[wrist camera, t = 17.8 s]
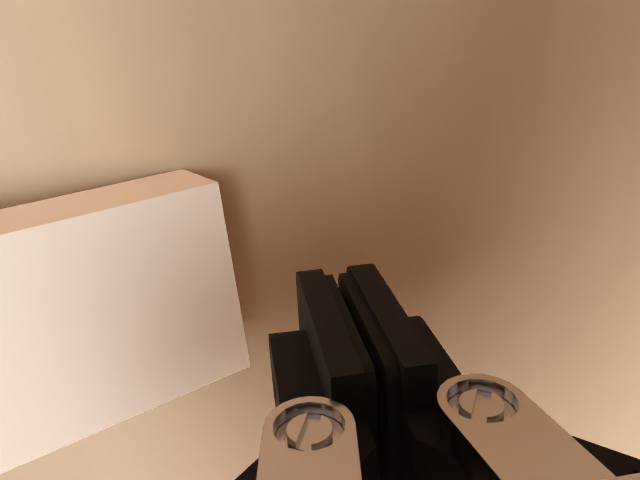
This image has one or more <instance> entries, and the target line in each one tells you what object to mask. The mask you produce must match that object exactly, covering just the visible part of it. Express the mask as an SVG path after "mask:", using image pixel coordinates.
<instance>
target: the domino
mask: <svg viewBox="0 0 640 480" xmlns="http://www.w3.org/2000/svg"><path fill="white" fill-rule="evenodd" d="M249 367H251V365H250V359H249V354H248V348H247V342H246V337H245V331H244V325H243V320H242V314H241V308H240V303H239V297H238V292H237V286H236V280H235V275H234V269H233V263H232V258H231V252H230V246H229V241H228V235H227V229H226V224H225V218H224V212H223V207H222V201H221V195H220V190H219V184H218V182H216V181H213V180H211V179H208V178H206V177H203V176H200V175H198V174H195V173H192V172H190V171H187V170H184V169H180V170H175V171H171V172H166V173H162V174H157V175H153V176H148V177H144V178H139V179H135V180H130V181H126V182H121V183H117V184H112V185H108V186H103V187H99V188H94V189H90V190H85V191H81V192H76V193H72V194H67V195H63V196H58V197H54V198H49V199H45V200H40V201H36V202H31V203H27V204H22V205H18V206H13V207H9V208H4V209H0V474H2V473H4V472H7V471H9V470H11V469H14V468H16V467H18V466H21V465H23V464H25V463H28V462H30V461H32V460H35V459H37V458H39V457H42V456H44V455H46V454H49V453H51V452H53V451H56V450H58V449H60V448H63V447H65V446H67V445H70V444H72V443H74V442H77V441H79V440H81V439H84V438H86V437H88V436H91V435H93V434H95V433H98V432H100V431H102V430H105V429H107V428H109V427H111V426H114V425H116V424H118V423H121V422H123V421H125V420H128V419H130V418H132V417H135V416H137V415H139V414H142V413H144V412H146V411H149V410H151V409H153V408H156V407H158V406H160V405H163V404H165V403H167V402H170V401H172V400H174V399H177V398H179V397H181V396H184V395H186V394H188V393H191V392H193V391H195V390H198V389H200V388H202V387H205V386H207V385H209V384H212V383H214V382H216V381H219V380H221V379H223V378H226V377H228V376H230V375H233V374H235V373H237V372H240V371H242V370H244V369H247V368H249Z"/></svg>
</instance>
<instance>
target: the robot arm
mask: <svg viewBox="0 0 640 480" xmlns="http://www.w3.org/2000/svg"><path fill="white" fill-rule="evenodd" d="M296 284H297V299H298V314H299V329H300V330H299V331H291V332H283V333H274V334H269V347H270V359H271V370H272V380H273V389H274V398H275V406H276V408H274V409H273V410H272V411H271V412H270V414H269V415H268V416H267V417H266V419H265V422H264V425H263V429H262V437H261V445H260V453H259V458H258V459H257V460H256V461H255V462H254V463H253V464H252V465H250V466H249V467H248V468H247V469H246V470H245V471H244V472H243V473H242V474H241V475H240V476H238V477H237V478H236V479H235V480H640V459H637V458H634V457H631V456H628V455H625V454H623V453H620V452H617V451H614V450H611V449H608V448H605V447H602V446H600V445H597V444H594V443H591V442H588V441H585V440H582V439H580V438H577V437H574V436H571V435H570V434H568V433H567V432H566V431H565V430H564V429H563V428H562V427H561V426H560V425H558V424H557V423H556V422H555V421H554V420H553V419H552V418H551V417H550V416H549V415H547V414H546V413H545V412H544V411H543V410H542V409H541V408H540V407H539V406H537V405H536V404H535V403H534V402H533V401H532V400H531V399H530V398H529V397H527V396H526V395H525V394H524V393H523V392H522V391H521V390H520V389H518V388H517V387H515V386H514V385H513V384H511V383H510V382H507V381H505V380H503V379H500V378H498V377H494V376H489V375H485V374H464V375H462V374H461V373H460V371H459V370H458V369H457V367H456V366H455V364H454V363H453V361H452V360H451V359H450V357H449V356H448V354H447V353H446V351H445V350H444V349H443V347H442V346H441V344H440V343H439V341H438V340H437V339H436V337H435V336H434V334H433V333H432V331H431V330H430V329H429V327H428V326H427V324H426V323H425V321H424V320H423V319H422V318H421V317H420V316H412V317H408V316H407V315H406V313H405V311H404V310H403V308H402V307H401V305H400V304H399V302H398V301H397V299H396V298H395V296H394V295H393V293H392V292H391V290H390V288H389V287H388V285H387V284H386V282H385V281H384V279H383V278H382V276H381V275H380V273H379V272H378V270H377V269H376V267H375V266H374V264H364V265H355V266H348V267H347V273H342V274H339V277H338V285H339V288H338V286H337V284H336V282H335V280H334V277H333V275H324V273H323V271H322V269H318V270H309V271H300V272H296Z"/></svg>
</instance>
